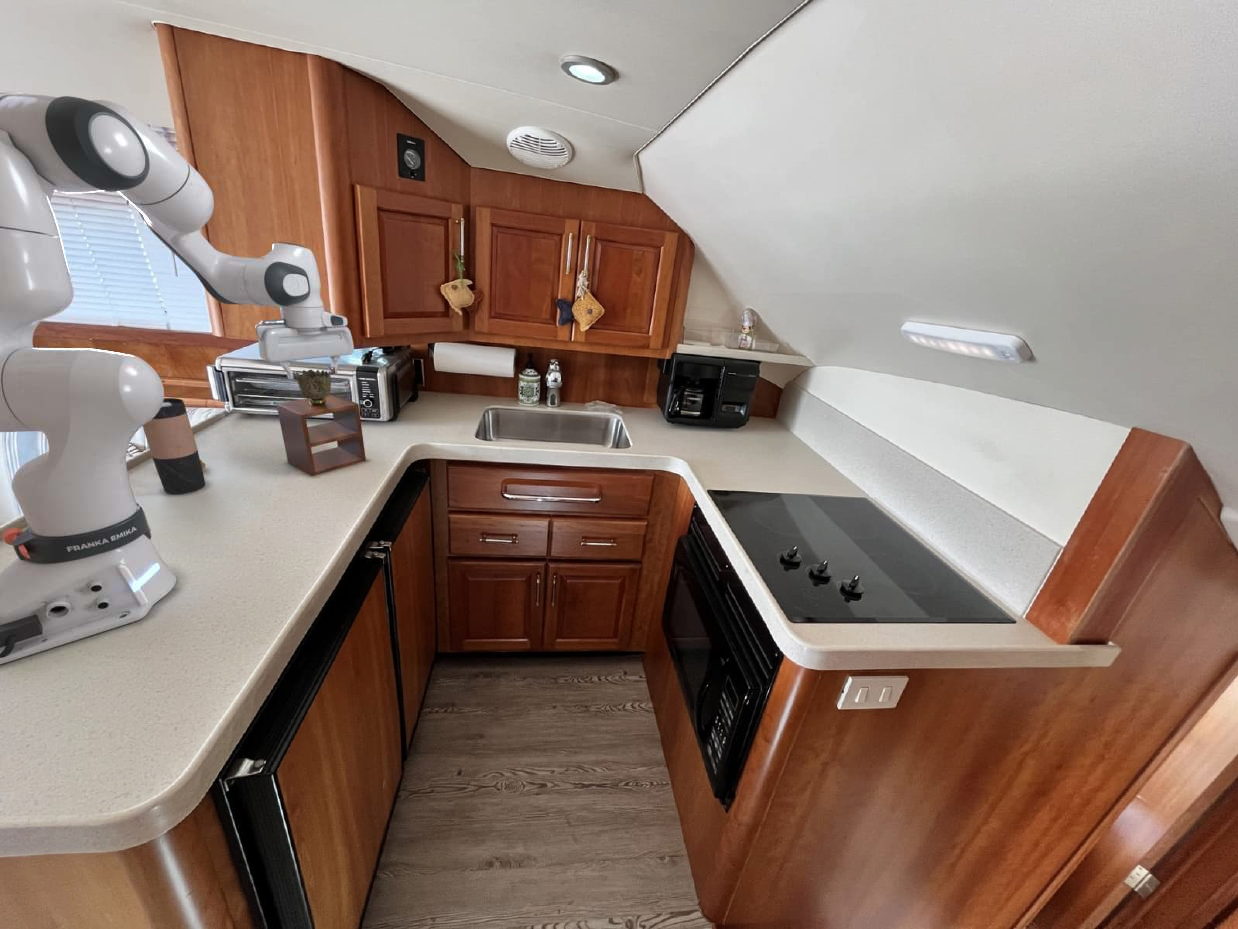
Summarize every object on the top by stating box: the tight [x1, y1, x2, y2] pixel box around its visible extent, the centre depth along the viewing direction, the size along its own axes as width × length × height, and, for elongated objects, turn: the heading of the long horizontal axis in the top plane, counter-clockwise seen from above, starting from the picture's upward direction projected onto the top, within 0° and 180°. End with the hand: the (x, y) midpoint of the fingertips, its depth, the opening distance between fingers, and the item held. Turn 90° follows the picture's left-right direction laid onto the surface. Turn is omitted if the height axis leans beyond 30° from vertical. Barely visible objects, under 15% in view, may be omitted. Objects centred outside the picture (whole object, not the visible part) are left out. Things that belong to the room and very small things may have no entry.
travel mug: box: [142, 397, 206, 496], centre depth 107 cm, size 8×8×20 cm
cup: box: [296, 369, 332, 405], centre depth 122 cm, size 8×7×8 cm
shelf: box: [275, 394, 367, 477], centre depth 126 cm, size 14×12×16 cm
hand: (313, 376), depth 121 cm, fingers open, 8 cm apart
